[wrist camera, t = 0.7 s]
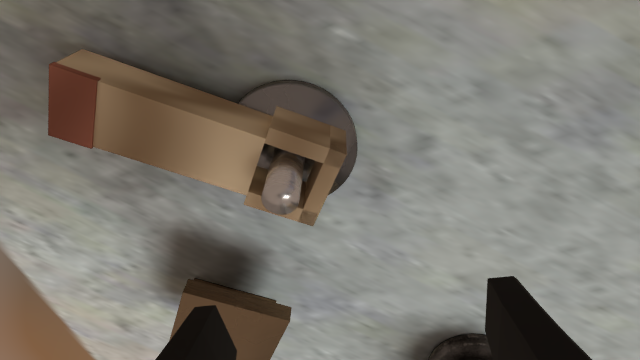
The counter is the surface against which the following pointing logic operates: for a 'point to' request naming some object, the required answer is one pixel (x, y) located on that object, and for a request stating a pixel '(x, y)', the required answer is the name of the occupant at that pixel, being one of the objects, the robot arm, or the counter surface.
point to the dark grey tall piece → (463, 348)
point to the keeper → (239, 317)
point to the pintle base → (288, 166)
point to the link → (187, 129)
